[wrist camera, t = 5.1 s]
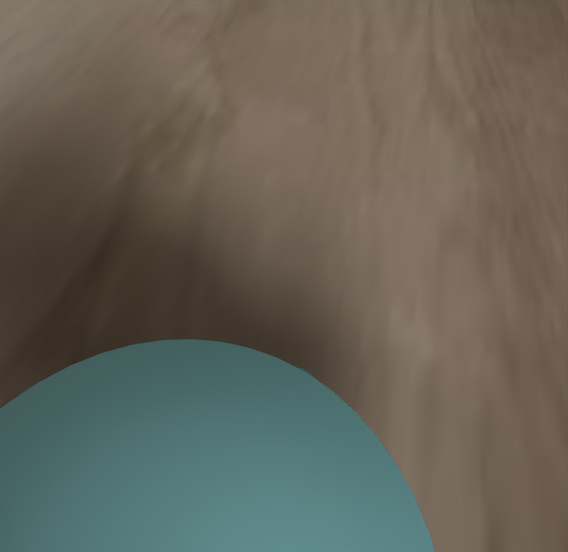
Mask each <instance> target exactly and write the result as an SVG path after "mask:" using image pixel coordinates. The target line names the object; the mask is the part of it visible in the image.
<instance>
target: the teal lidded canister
mask: <svg viewBox="0 0 568 552" xmlns="http://www.w3.org/2000/svg"><path fill="white" fill-rule="evenodd" d="M305 371H306V369H303V368H297V367H295V366H293V365H291V364H289V363H287V362H285V361H283V360H281V359H279V358H276V357H274V356H271V355H268V354H266V353H263V352H260V351H257V350H255V349H252V348H248V347H243V346H239V345H234V344H230V343H226V342H219V341H208V340H198V339H179V340H160V341H153V342H147V343H140V344H133V345H129V346H126V347H122V348H118V349H115V350H111V351H107V352H104V353H100V354H98V355H95V356H93V357H90V358H88V359H85V360H83V361H80V362H78V363H75V364H73V365H70V366H68V367H66V368H65V369H63V370H61V371H59V372H57V373H55V374H53V375H51V376H49V377H48V378H46V379H44V380H42V381H40V382H38V383H37V384H35V385H34V386H32V387H31V388H29V389H28V390H26V391H25V392H23V393H22V394H20V395H19V396H17V397H16V398H14V399H13V400H11V401H10V402H8V403H7V404H5V405H4V406H3V407H2V408H1V409H0V552H435V551H434V548H433V544H432V541H431V537H430V534H429V532H428V529H427V527H426V523H425V522H424V519H423V517H422V515H421V512H420V510H419V507H418V505H417V502H416V500H415V498H414V496H413V494H412V492H411V490H410V488H409V486H408V485H407V483H406V481H405V479H404V477H403V475H402V474H401V472H400V470H399V468H398V466H397V464H396V463H395V461H394V460H393V459H392V457H391V456H390V454H389V453H388V451H387V450H386V449H385V447H384V446H383V444H382V443H381V441H380V440H379V439H378V437H377V436H376V435H375V433H374V432H373V431H372V430H371V429H370V428H369V427H368V425H367V424H366V423H365V422H364V421H363V420H362V419H361V418H360V416H359V415H358V414H357V413H356V412H355V411H354V410H353V409H352V408H351V407H350V406H349V405H348V404H346V403H345V402H344V401H343V400H342V399H341V398H340V397H339V396H337V395H336V394H335V393H334V392H333V391H332V390H331V389H329V388H328V387H326V386H325V385H323V384H322V383H320V382H319V381H318V380H316V379H315V378H314V377H313V376H312V375H311V373H310V372H309V371H307V372H305Z"/></svg>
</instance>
